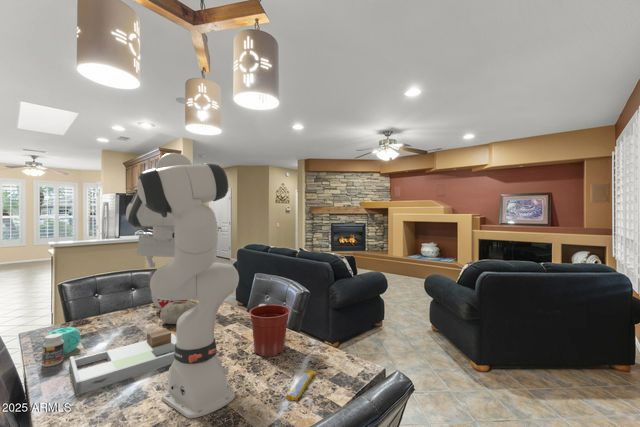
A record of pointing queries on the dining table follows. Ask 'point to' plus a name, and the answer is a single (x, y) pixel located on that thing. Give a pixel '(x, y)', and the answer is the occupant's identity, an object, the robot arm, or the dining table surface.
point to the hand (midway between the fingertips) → (164, 267)
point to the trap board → (119, 364)
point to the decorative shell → (175, 311)
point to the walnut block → (158, 337)
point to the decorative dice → (68, 338)
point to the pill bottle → (53, 350)
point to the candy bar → (300, 385)
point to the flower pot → (269, 329)
